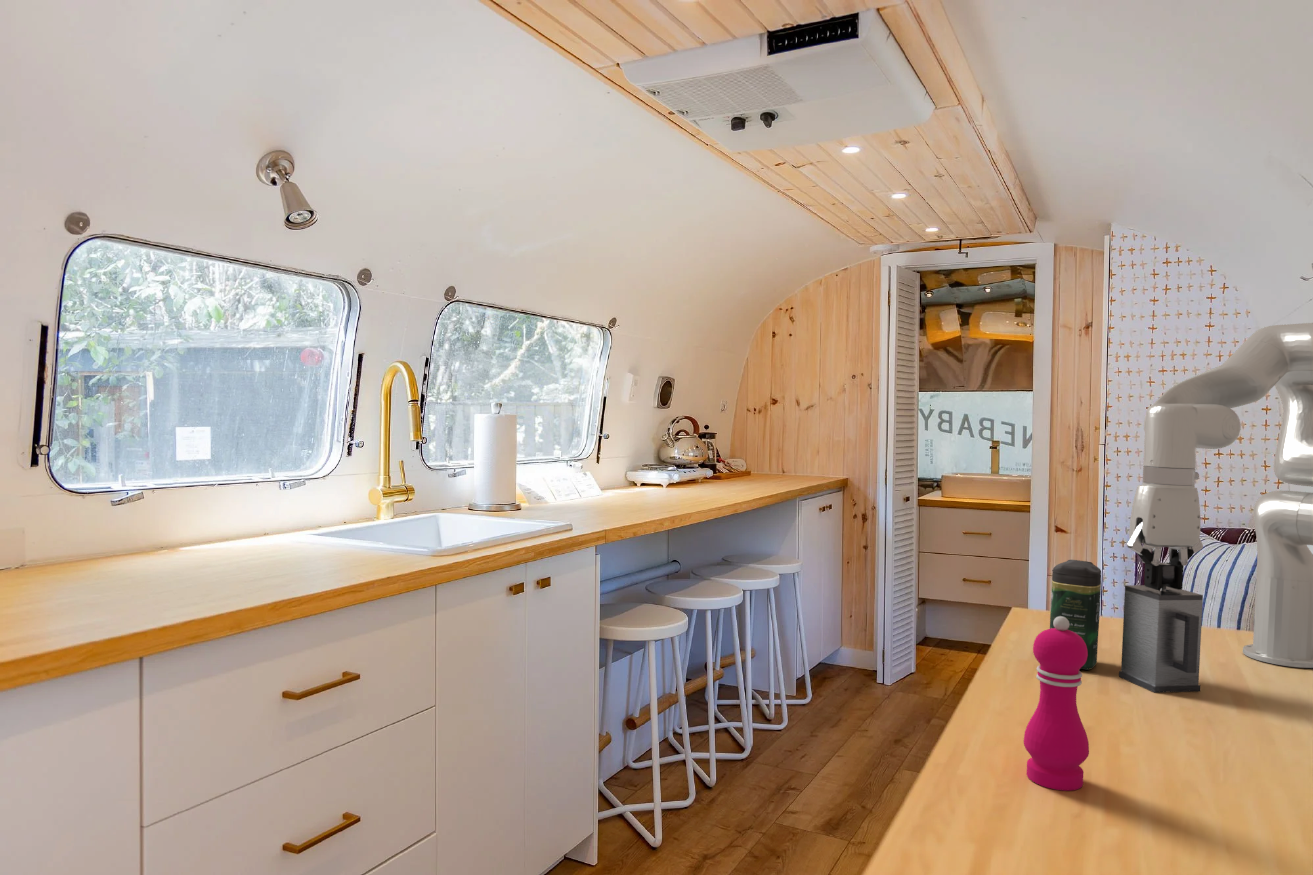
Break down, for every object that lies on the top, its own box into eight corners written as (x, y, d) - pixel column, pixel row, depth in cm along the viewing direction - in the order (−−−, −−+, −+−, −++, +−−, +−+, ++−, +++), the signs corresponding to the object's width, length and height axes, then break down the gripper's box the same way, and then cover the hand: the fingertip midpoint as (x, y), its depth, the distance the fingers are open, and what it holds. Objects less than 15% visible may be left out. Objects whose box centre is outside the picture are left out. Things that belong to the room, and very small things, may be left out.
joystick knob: (1163, 640, 150) (1166, 561, 150) (1188, 649, 144) (1192, 567, 144) (1133, 641, 149) (1137, 561, 149) (1157, 650, 144) (1161, 567, 143)
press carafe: (1162, 675, 152) (1166, 584, 151) (1213, 696, 141) (1218, 599, 140) (1118, 676, 150) (1123, 585, 150) (1167, 698, 139) (1171, 599, 139)
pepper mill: (1032, 762, 112) (1039, 606, 111) (1094, 779, 107) (1101, 616, 106) (1014, 780, 106) (1021, 616, 105) (1078, 798, 101) (1086, 627, 101)
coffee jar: (1094, 674, 151) (1098, 567, 151) (1044, 666, 156) (1048, 562, 155) (1100, 661, 160) (1104, 560, 159) (1052, 654, 164) (1057, 555, 163)
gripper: (1194, 477, 151) (1189, 583, 152) (1108, 475, 148) (1103, 583, 149) (1230, 480, 144) (1224, 592, 144) (1140, 479, 141) (1134, 593, 141)
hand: (1163, 586), depth 146 cm, fingers closed on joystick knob, 3 cm apart
